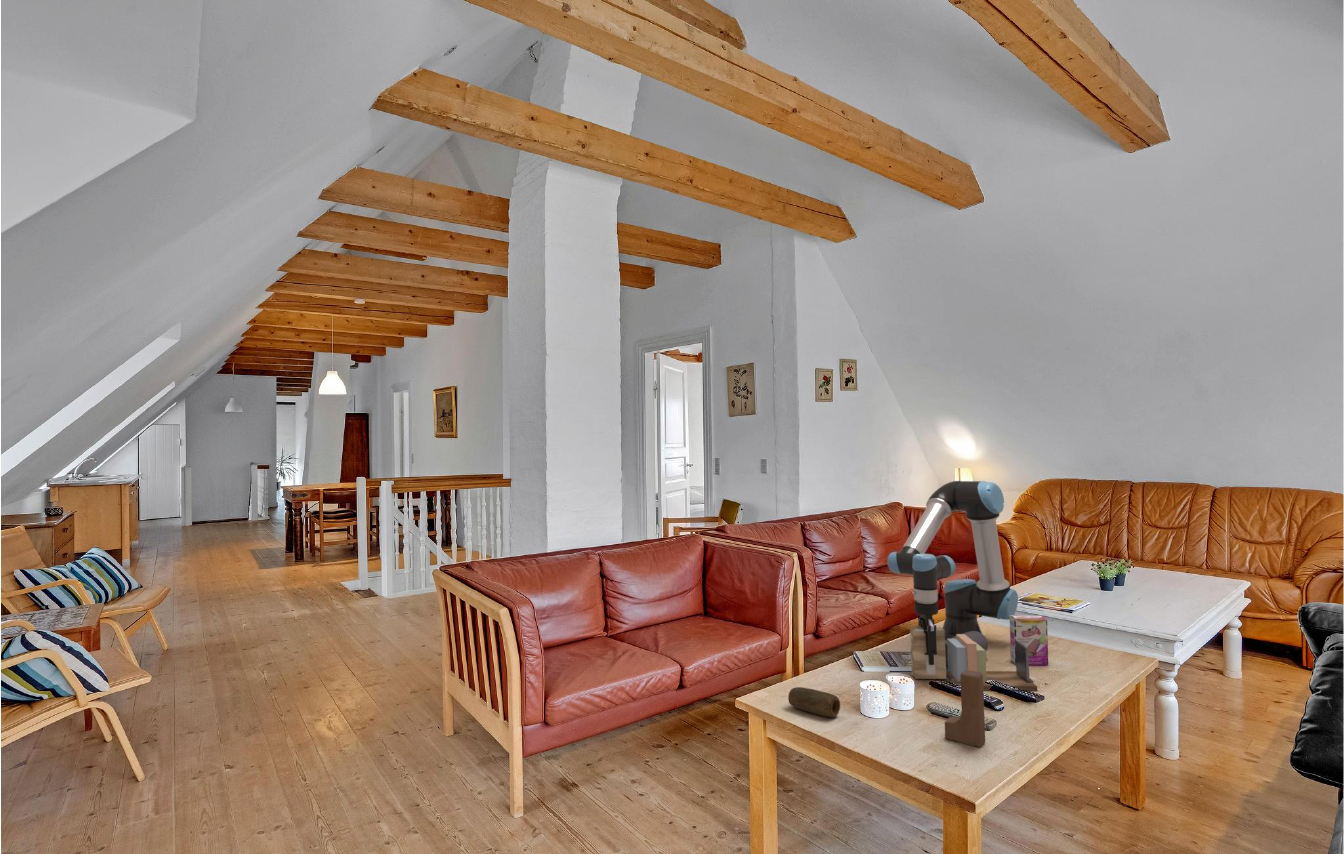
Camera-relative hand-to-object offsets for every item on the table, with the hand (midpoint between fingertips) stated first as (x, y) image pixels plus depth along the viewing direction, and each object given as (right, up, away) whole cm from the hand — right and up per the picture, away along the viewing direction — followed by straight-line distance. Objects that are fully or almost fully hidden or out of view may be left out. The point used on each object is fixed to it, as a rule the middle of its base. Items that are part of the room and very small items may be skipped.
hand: (928, 671), depth 223 cm
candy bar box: (+40, -2, +12) cm, 42 cm away
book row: (+11, 0, -5) cm, 12 cm away
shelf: (+17, -2, -6) cm, 18 cm away
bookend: (+28, 0, -7) cm, 29 cm away
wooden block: (-9, -1, -48) cm, 48 cm away
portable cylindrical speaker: (-44, -3, -27) cm, 52 cm away
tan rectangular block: (0, -2, 0) cm, 2 cm away
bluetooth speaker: (+17, -3, +13) cm, 22 cm away
